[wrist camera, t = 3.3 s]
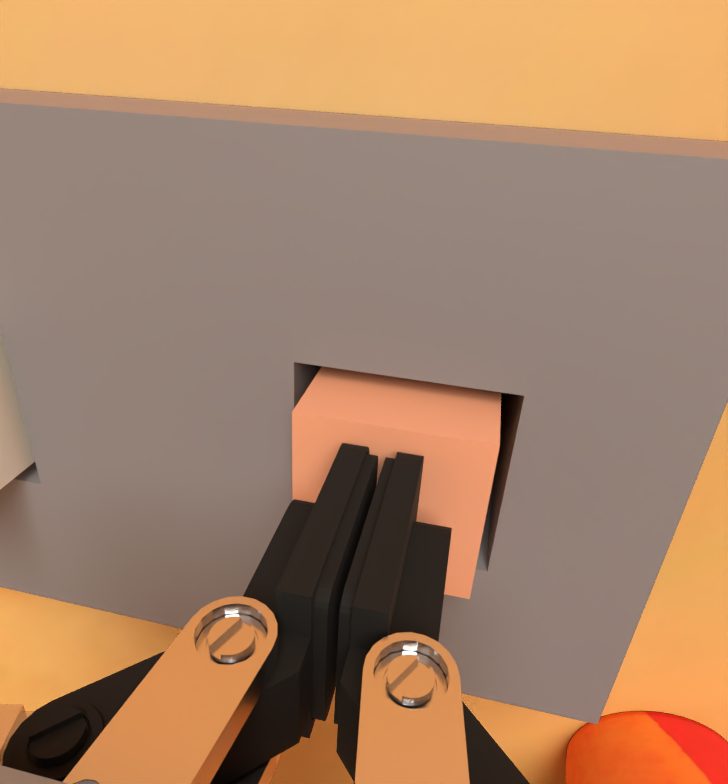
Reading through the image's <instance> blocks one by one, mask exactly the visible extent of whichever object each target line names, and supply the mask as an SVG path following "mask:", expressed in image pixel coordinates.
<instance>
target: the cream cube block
mask: <svg viewBox="0 0 728 784" xmlns="http://www.w3.org/2000/svg"><path fill="white" fill-rule="evenodd" d="M34 462H35V459H34V456H33V452H32V448H31V444H30V440H29V437H28V433H27V429H26V425H25V421H24V418H23V414H22V410H21V406H20V402H19V399H18V395H17V391H16V387H15V383H14V380H13V376H12V372H11V368H10V364H9V361H8V357H7V353H6V349H5V345H4V342H3V338H2V334H1V330H0V489H2V488H3V487H4V486H5V485H7V484H8V483H9V482H10V481H12V480H13V479H14V478H15V477H16V476H18V475H19V474H20V473H21V472H23V471H24V470H25V469H26V468H28V467H29V466H30V465H31V464H33V463H34Z"/></svg>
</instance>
